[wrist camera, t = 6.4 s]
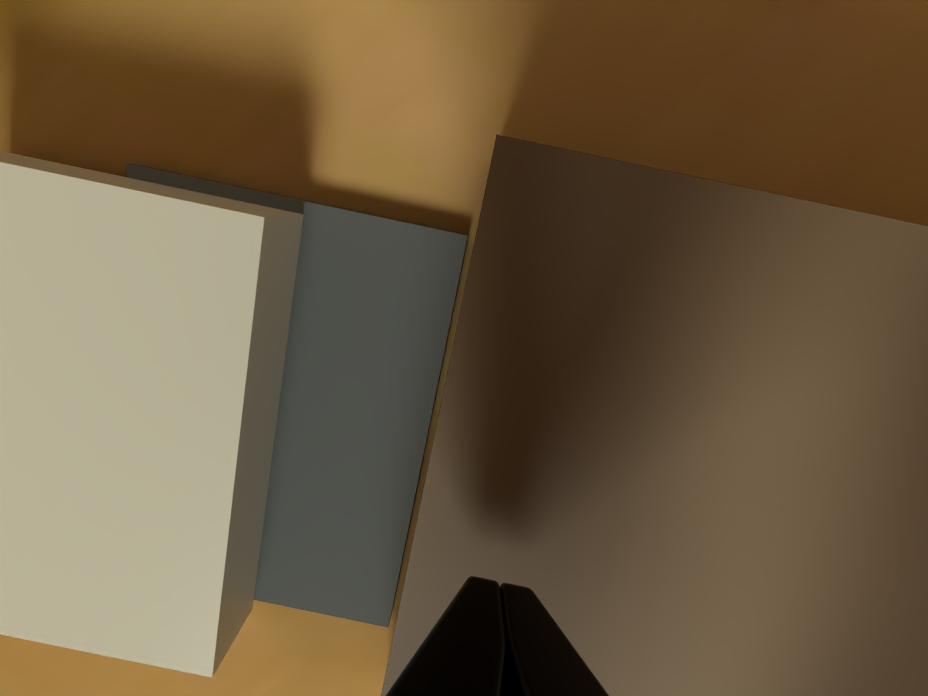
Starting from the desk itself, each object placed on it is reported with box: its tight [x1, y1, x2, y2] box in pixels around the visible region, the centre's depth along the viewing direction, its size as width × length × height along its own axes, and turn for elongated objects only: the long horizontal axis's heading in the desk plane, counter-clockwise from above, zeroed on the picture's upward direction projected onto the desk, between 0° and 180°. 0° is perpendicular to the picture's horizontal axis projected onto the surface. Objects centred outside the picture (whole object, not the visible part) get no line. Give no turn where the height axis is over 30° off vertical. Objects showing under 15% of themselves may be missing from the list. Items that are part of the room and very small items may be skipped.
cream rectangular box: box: [0, 151, 304, 677], centre depth 11 cm, size 6×9×2 cm, turn 169°
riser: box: [381, 135, 928, 696], centre depth 11 cm, size 16×12×4 cm
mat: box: [126, 164, 468, 627], centre depth 12 cm, size 7×9×1 cm
